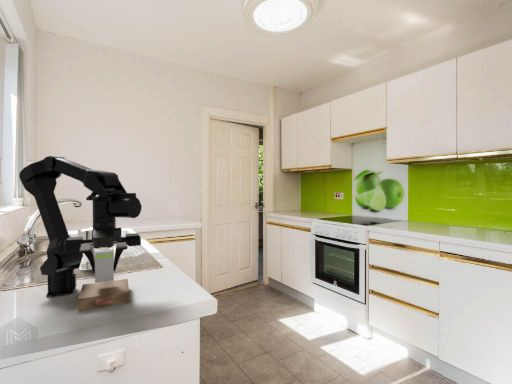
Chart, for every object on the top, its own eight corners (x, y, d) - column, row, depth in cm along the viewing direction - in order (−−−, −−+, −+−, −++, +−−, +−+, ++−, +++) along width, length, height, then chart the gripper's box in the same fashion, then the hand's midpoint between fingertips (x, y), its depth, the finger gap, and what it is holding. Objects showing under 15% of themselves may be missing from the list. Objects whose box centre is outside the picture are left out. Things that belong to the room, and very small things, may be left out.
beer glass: (79, 266, 113) (78, 228, 113) (99, 265, 116) (99, 227, 116) (76, 271, 107) (75, 231, 107) (97, 269, 110) (97, 230, 109)
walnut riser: (77, 311, 74) (77, 299, 74) (82, 294, 85) (82, 284, 85) (129, 302, 79) (129, 292, 79) (127, 288, 90) (127, 278, 90)
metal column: (95, 282, 79) (94, 253, 79) (96, 277, 83) (95, 249, 83) (113, 280, 81) (113, 251, 81) (113, 275, 85) (113, 248, 85)
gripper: (59, 221, 70) (60, 285, 71) (142, 218, 78) (142, 276, 79) (66, 217, 80) (67, 273, 81) (139, 214, 88) (139, 265, 89)
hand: (104, 272), depth 82 cm, fingers closed on metal column, 4 cm apart
